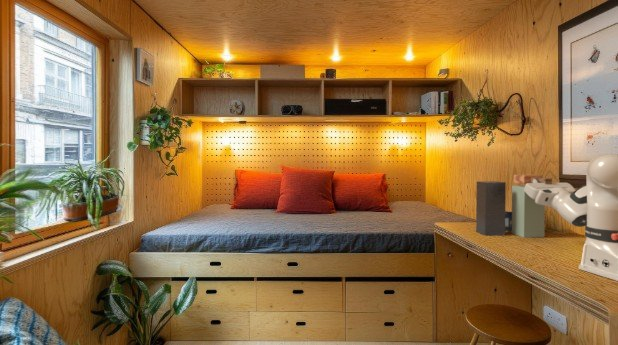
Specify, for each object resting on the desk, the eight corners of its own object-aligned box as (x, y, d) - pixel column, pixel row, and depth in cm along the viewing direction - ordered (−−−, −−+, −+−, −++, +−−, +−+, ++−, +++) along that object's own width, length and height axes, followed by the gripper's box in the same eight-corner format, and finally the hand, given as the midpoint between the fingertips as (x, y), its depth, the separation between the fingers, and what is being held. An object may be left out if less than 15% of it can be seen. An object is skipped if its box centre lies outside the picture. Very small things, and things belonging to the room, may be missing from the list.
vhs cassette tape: (481, 228, 191) (481, 209, 191) (483, 227, 193) (483, 209, 193) (520, 232, 178) (520, 213, 178) (521, 232, 181) (521, 212, 180)
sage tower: (544, 237, 168) (545, 186, 167) (523, 237, 167) (524, 187, 167) (530, 232, 177) (531, 185, 176) (511, 233, 177) (512, 185, 176)
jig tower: (505, 235, 173) (505, 182, 172) (485, 235, 173) (485, 182, 172) (495, 231, 182) (495, 181, 181) (476, 231, 181) (476, 181, 180)
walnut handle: (558, 185, 158) (558, 176, 158) (538, 185, 158) (539, 176, 157) (531, 182, 176) (531, 174, 176) (513, 182, 176) (513, 174, 175)
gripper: (584, 191, 151) (563, 174, 163) (538, 192, 150) (520, 174, 162) (578, 203, 154) (558, 185, 166) (532, 203, 153) (515, 186, 165)
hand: (539, 180), depth 164 cm, fingers closed on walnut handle, 3 cm apart
